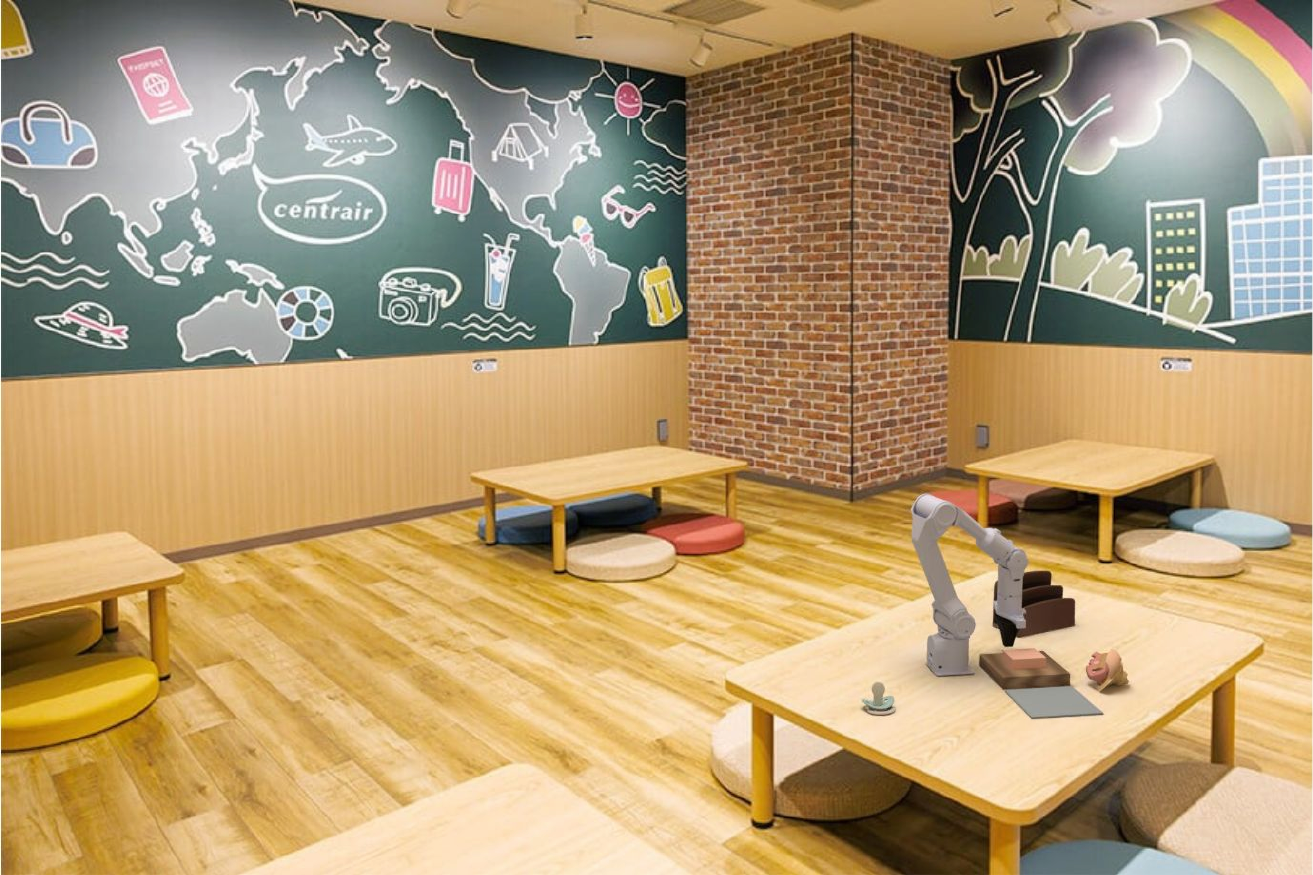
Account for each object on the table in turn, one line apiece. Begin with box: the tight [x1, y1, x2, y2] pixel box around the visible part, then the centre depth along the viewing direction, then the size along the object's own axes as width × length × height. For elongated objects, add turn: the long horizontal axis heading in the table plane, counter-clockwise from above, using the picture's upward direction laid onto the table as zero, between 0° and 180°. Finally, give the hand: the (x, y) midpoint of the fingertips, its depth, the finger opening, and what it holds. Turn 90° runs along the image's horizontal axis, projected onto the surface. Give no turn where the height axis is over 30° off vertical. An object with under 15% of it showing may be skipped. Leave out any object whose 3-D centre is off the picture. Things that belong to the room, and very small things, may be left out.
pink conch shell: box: [1085, 648, 1130, 693], centre depth 225 cm, size 9×10×10 cm
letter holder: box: [992, 570, 1076, 639], centre depth 263 cm, size 10×20×14 cm, turn 113°
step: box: [978, 650, 1071, 691], centre depth 233 cm, size 16×14×3 cm
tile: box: [1001, 647, 1046, 670], centre depth 232 cm, size 8×6×2 cm
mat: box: [1004, 685, 1104, 720], centre depth 218 cm, size 16×14×1 cm
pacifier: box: [861, 681, 896, 716], centre depth 217 cm, size 7×6×6 cm
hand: (1007, 645), depth 241 cm, fingers closed
